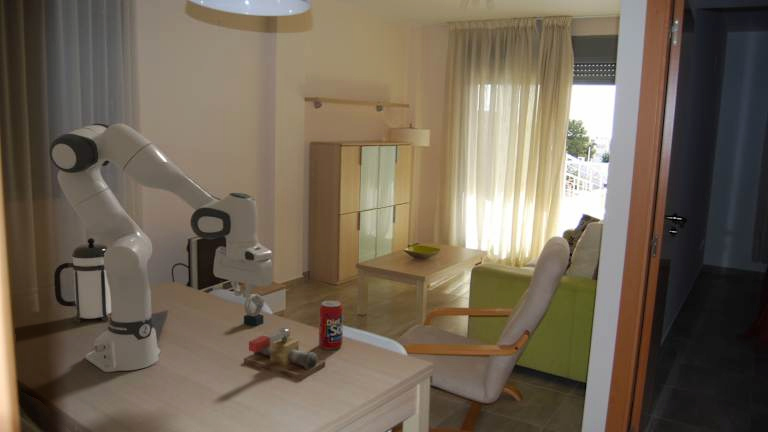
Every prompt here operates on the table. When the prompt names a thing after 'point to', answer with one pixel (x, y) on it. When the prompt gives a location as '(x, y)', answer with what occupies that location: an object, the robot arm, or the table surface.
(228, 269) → the robot arm
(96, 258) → the coffee press
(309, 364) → the valve mount
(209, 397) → the table surface
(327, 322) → the soda can
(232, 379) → the table surface
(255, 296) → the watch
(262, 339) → the valve lever
